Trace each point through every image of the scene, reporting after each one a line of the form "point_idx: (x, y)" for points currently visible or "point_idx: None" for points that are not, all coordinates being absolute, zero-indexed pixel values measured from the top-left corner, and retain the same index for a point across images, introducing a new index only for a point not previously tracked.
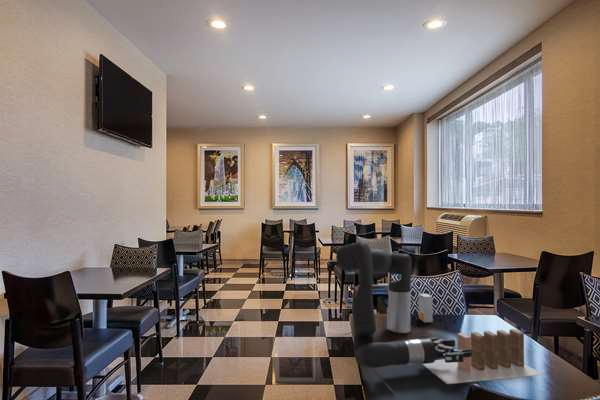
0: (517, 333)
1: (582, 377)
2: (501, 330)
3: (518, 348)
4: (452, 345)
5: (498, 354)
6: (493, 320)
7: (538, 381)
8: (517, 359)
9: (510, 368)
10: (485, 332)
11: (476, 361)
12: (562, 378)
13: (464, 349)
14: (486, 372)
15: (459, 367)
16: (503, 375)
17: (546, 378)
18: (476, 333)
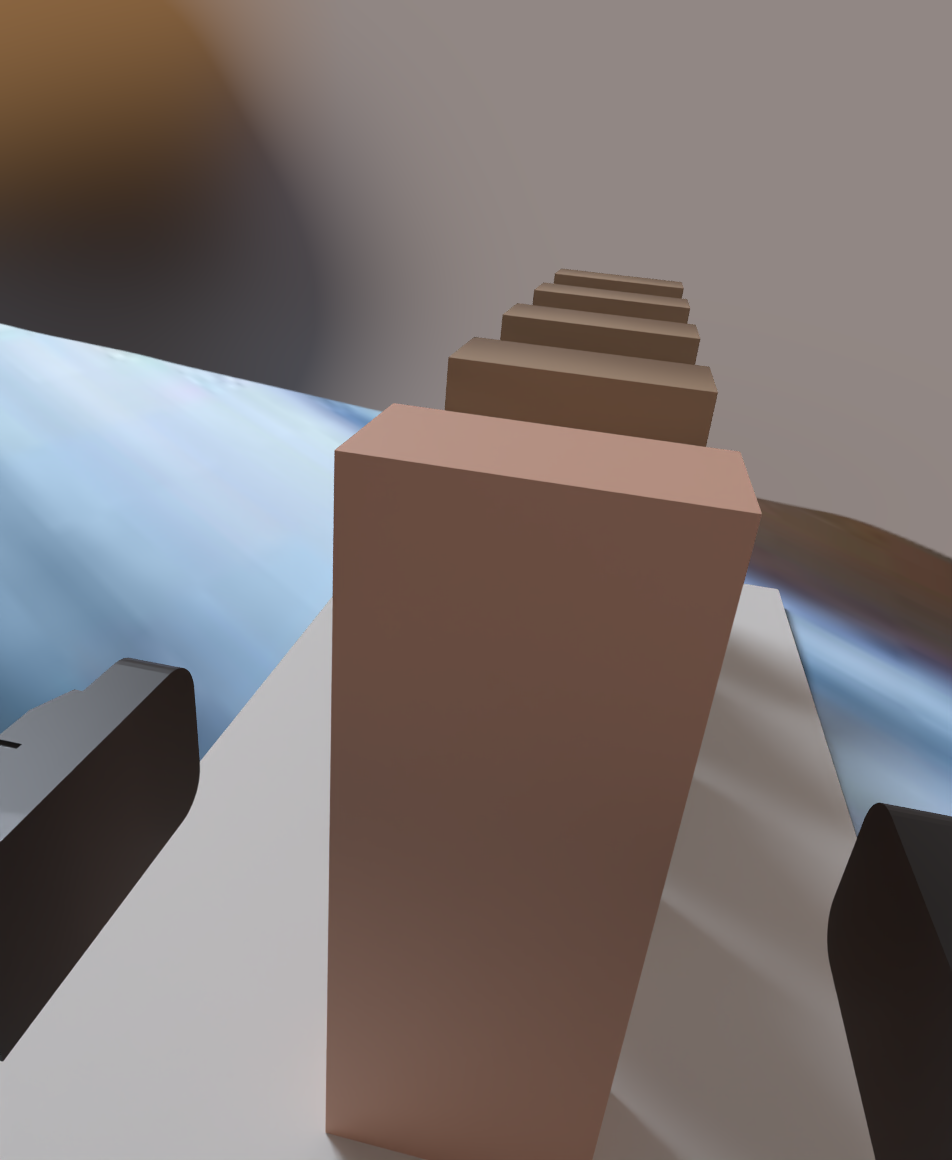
0: (666, 291)
1: (805, 515)
2: (552, 285)
3: None
4: (159, 822)
5: None
6: (23, 341)
7: (869, 674)
8: None
9: None
10: (536, 325)
11: None
12: (815, 566)
13: (940, 942)
14: (677, 892)
15: (389, 1144)
16: (784, 801)
17: (813, 614)
18: (542, 355)
